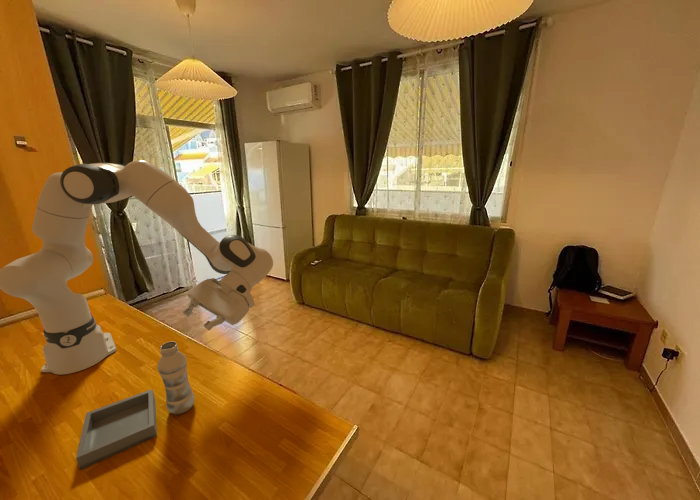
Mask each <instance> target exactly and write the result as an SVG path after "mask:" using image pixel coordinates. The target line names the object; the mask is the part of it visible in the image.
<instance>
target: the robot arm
mask: <svg viewBox="0 0 700 500" xmlns="http://www.w3.org/2000/svg"><path fill="white" fill-rule="evenodd" d="M132 197H133V198H135V199H136V200H138V201H140V202H141V203H142V204H143V205H145V207H147V208H148V209H150V210H151V211H152V212H154V213H155V214H156V215H157V216H158V217H160V218H161V219H162V220H164V221H165V222H166V223H167V224H168V225H170V226H171V227H172V228H173V229H175V231H177V232H178V233H179V234H180V235H181V236H182V237H183V238H185V240H187V241H188V242H189V243H190V244H191V245H192V246H193V247H194V248H196V250H198V251H199V252H200V253H201V254H202V255H203V256H204V257H205V259H206V260H207V262H208V264H209V266H210V268H212V270H213V271H215V272H216V273H218V274H222V275H224V276H223V277H222V278H221V279H219V280H218V279H216V278H213V277H212V278H207V279H205V280H202V281H201V282H199V283H198V284H197V283H196V285H194V286H193V287H191V288H190V289H188V291H187V292H186V293H187V294H186V295H187V297H188V298H189V302H188V304H187V306H186V308H185V309H184V310H183V311H182V314H183V315H184V316H185V317H188V318H189V317H190V316H191V315H192V314H193V309H194V308H197V307H198V306H199V307H200V308H203V309H205V310H206V311H208V312H209V313H211V314H212V315H215V316H216V318H215V319H212V320H211V321H210V320H207V321H206V323H204V324H203V327H204V328H205V330H207V331H211V330H212V329H213V328H214V327H217V326H219V325H221V324H223V323H224V322H226V323H228V324H230V325H231V326H234V325H237V324H239V322H241V321H242V320H243V318H245V317H246V315H247V314H248V312H249V311H250V309H251V308H253V307H254V306H255V304H256V303H255V300H254V298H253V295H252V293H251V291H252V289H253V288H254V287H255V286H256V285H258V284H259V283H260V282H262V281H263V280H264V279H265V278H266V276H267V275H269V273H270V272H271V270H272V269H273V267H274V260H273V257H272V255H271V254H270V253H269V251H267V250H266V249H265V248H262V247H256V246H255V245H253V244H251V243H249V242H248V241H247V240H246V239H245V238H244V237H243V236H240V235H237V234H229V235H227V236H224V237H223V238H222V239H221V241H218V240H217V239H216V238H215V237H214V236H212V235H211V234H210V232H208V231H207V230H206V229H205V228H204V227H203V226H202V225H201V224H200V221H199V220H198V217H197V214H196V209H195V202H194V199H193V197H192V195H191V194H190V193H189V192H188V191H187V189H186V188H185V187H184V186H183V185H182V184H180V183H179V182H178V181H177V180H176V179H174V178H173V177H172V176H171V175H169V174H168V173H167V172H165V171H164V170H162V168H159V167H158V166H156V165H154V164H153V163H151V162H149V161H147V160H143V159H138V160H137V159H136V160H133V161H130V162H128V163H127V164H122V163H110V162H95V163H80V164H75V165H74V164H73V165H72V166H69V167H67V168H65V170H63V172H62V171H60V172H59V171H58V172H54V173H52V174H50V175H49V176H48V177H47V179H46V181H45V183H44V185H43V186H42V188H41V191H40V193H39V196H38V200H37V203H36V209H35V213H34V217H33V220H32V221H33V222H32V226H31V230H32V233H33V235H35V236H36V237H37V238H39V239H40V240H42V245H41V246H42V247H41V248H40V249H39V251H37V252H34V253H31V254H29V255H26V256H23V257H19V258H17V259H14V260H13V261H11V262H9V263H8V264H6V265H4V266H3V267H2V268H0V290H1V291H2V292H3V293H5V294H6V295H8V296H10V297H15V298H20V299H23V300H25V301H26V302H29V303H30V304H31V305H32V306H33V308H34V309H35V310H36V312H37V315H38V316H39V319H40V321H41V324H42V327H43V330H42V331H43V336H44V338H45V341H46V343H45V345H43V346H42V348H41V349H42V352H43V356H44V357H43V358H44V360H45V364H44V365H43V366H42V367H41V369H40V371H41V372H42V373H52V374H54V375H69V374H73V373H74V374H75V373H77V372H81V371H83V370H86V369H89V368H90V367H92V366H94V365H97V364H98V363H99V362H101V361H102V360H104V359H105V358H107V356H109V355H112V354H113V353H115V352H116V351H117V350H118V349H117V347H116V344H115V341H114V339H113V336H112V333H110V332H103V331H102V328H101V325H99V324H97V322H96V319H95V317H94V316H93V314H92V313H93V312H92V311H90V307H89V304H88V301H87V297H86V296H85V295H83V294H82V293H78V292H73V291H72V290H71V288H70V287H69V286H68V281H69V280H72V279H74V278H76V277H79V276H80V275H82V274H83V273H84V272H86V271H87V270H88V269H89V268H90V267H91V266H92V265H93V263H94V255H93V253H92V251H91V250H90V249H89V248H88V247H87V246H86V233H87V229H88V224H89V221H90V216H91V214H92V209H93V206H94V205H100V204H110V203H116V202H118V201H122V200H126V199H131V198H132Z"/></svg>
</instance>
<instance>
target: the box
mask: <svg viewBox="0 0 700 500" xmlns="http://www.w3.org/2000/svg"><path fill="white" fill-rule="evenodd" d="M156 407H157V406H156V397H155V393H154V390H153V388H152V389H148V390H145V391H143V392H140V393H137V394H134V395H132V396H128V397H126V398H123V399H121V400H118V401H115V402H112V403H110V404H107V405H105V406H101V407H98V408H96V409H93V410H91V411H87V412H86V413H85V417H84V421H83V426H82V431H81V435H80V439H79V443H78V448H77V451H76V452H77V453H76V457H75V459H76V462H77V465H78V467H79V470H83V469H86V468H89V467H91V466H93V465H95V464H97V463H99V462H102V461H104V460H106V459H108V458H111V457H113V456H115V455H117V454H119V453H123V452H125V451H126V450H129V449H131V448H133V447H135V446H138V445H140V444H143V443H145V442H147V441H149V440H152V439H153V438H155V437H158V431H157V429H158V428H157V412H156V411H157V410H156V409H157V408H156Z"/></svg>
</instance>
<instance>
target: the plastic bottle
mask: <svg viewBox="0 0 700 500" xmlns="http://www.w3.org/2000/svg"><path fill="white" fill-rule="evenodd" d="M187 363H188V361H187V357H186V355H185V354H184V353H183V352H181V351H179V347H178V343H177V342H176V341H174V340H173V341H167V342H165V343H163V344H161V345H160V358H159V360H158V362H157V366H156V368H157V371H158V373H159V375H160V378H161V379H162V382H163V386H164V390H165V396H166V399H165V403H166V405H165V406H166V409H167V410H168V412H169V413H170V414H173V415H182V414H185V413H186V412H188V411H189V410H190V409H191V408H192V407H193V405H194V403H195V393H194V392H193V389H192V388H191V384H190V381H189V376H188V365H187Z"/></svg>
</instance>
